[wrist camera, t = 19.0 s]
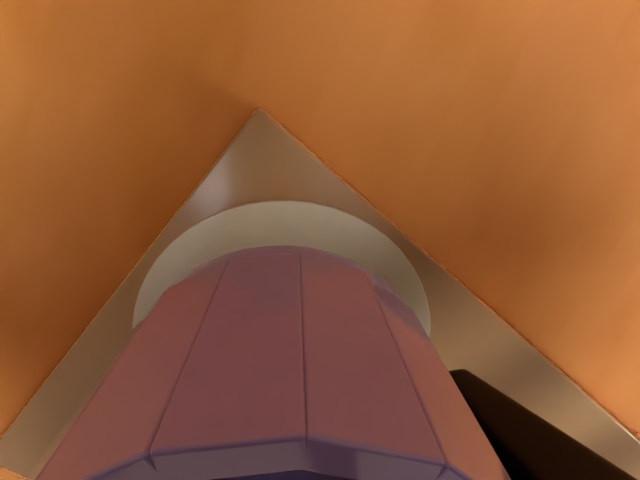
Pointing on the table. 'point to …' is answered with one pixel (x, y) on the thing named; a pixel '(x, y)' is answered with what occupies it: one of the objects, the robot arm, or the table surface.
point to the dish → (274, 384)
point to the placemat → (324, 234)
